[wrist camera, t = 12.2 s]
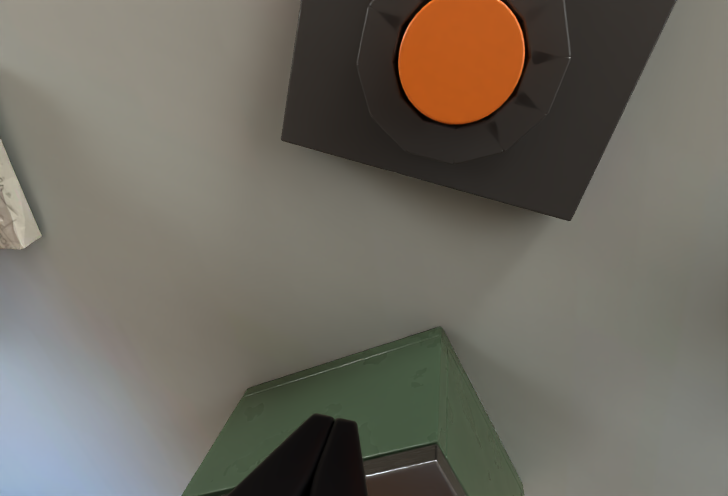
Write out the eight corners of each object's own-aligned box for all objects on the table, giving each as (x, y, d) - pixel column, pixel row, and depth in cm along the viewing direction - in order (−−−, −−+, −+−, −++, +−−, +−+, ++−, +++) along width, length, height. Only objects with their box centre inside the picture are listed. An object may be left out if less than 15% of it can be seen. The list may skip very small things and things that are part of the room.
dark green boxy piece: (338, 516, 29) (305, 649, 23) (247, 387, 26) (178, 499, 19) (522, 483, 25) (548, 635, 18) (441, 325, 22) (437, 440, 15)
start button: (535, 12, 13) (546, 6, 12) (492, 129, 15) (498, 138, 13) (421, -16, 13) (417, -26, 12) (391, 102, 15) (384, 107, 13)
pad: (673, -37, 14) (735, -64, 11) (560, 207, 18) (582, 238, 15) (333, -116, 15) (303, -162, 12) (294, 133, 19) (264, 148, 16)
